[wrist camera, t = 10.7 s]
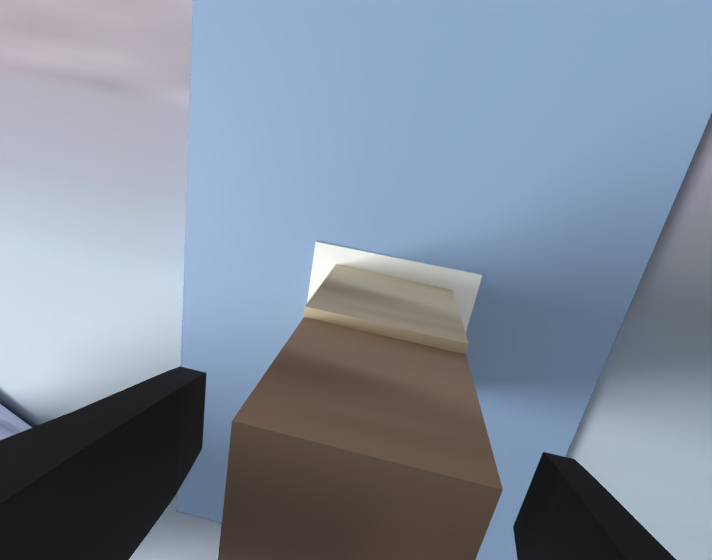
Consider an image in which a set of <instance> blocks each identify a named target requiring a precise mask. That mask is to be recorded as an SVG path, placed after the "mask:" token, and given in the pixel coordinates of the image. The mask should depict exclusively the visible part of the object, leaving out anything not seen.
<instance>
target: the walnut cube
mask: <svg viewBox="0 0 712 560" xmlns="http://www.w3.org/2000/svg"><path fill="white" fill-rule="evenodd" d="M502 491H503V488H502V485H501V481H500V477H499V474H498V470H497V466H496V463H495V459H494V455H493V452H492V448H491V444H490V440H489V437H488V433H487V429H486V426H485V422H484V418H483V415H482V411H481V407H480V404H479V400H478V396H477V393H476V389H475V385H474V382H473V378H472V374H471V371H470V367H469V363H468V360H467V356H466V354H461V353H457V352H453V351H448V350H444V349H440V348H435V347H431V346H427V345H422V344H418V343H414V342H409V341H405V340H401V339H396V338H392V337H388V336H383V335H379V334H375V333H370V332H366V331H362V330H357V329H353V328H349V327H344V326H340V325H336V324H331V323H327V322H323V321H318V320H314V319H310V318H305V317H304V318H303V319H302V320H301V322H300V323H299V325H298V326H297V328H296V329H295V330H294V332H293V333H292V335H291V336H290V338H289V339H288V341H287V342H286V343H285V345H284V346H283V348H282V349H281V351H280V352H279V354H278V355H277V356H276V358H275V359H274V361H273V362H272V364H271V365H270V367H269V368H268V369H267V371H266V372H265V374H264V375H263V377H262V378H261V379H260V381H259V382H258V384H257V385H256V387H255V388H254V390H253V391H252V392H251V394H250V395H249V397H248V398H247V400H246V401H245V403H244V404H243V405H242V407H241V408H240V410H239V411H238V413H237V414H236V416H235V417H234V418H233V420H232V425H231V435H230V446H229V456H228V466H227V476H226V486H225V496H224V506H223V516H222V527H221V537H220V547H219V557H218V560H476V557H477V554H478V552H479V549H480V547H481V544H482V542H483V539H484V537H485V534H486V532H487V529H488V526H489V524H490V521H491V519H492V516H493V514H494V511H495V509H496V506H497V504H498V501H499V498H500V496H501V493H502Z"/></svg>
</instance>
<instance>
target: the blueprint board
mask: <svg viewBox="0 0 712 560" xmlns="http://www.w3.org/2000/svg"><path fill="white" fill-rule="evenodd" d="M711 113H712V0H193V6H192V38H191V69H190V100H189V131H188V162H187V194H186V225H185V256H184V287H183V319H182V350H181V367H184V368H189V369H193V370H197V371H201V372H206V373H207V374H206V392H205V410H204V428H203V445H202V450H201V452H200V454H199V455H198V457H197V459H196V461H195V463H194V464H193V466H192V468H191V470H190V472H189V473H188V475H187V477H186V478H185V480H184V482H183V483H182V485H181V487H180V489H179V490H178V492H177V506H176V511H178V512H182V513H185V514H189V515H193V516H197V517H200V518H204V519H208V520H211V521H215V522H219V523H222V516H223V506H224V496H225V486H226V476H227V466H228V456H229V446H230V435H231V425H232V420H233V418H234V417H235V416H236V414H237V413H238V411H239V410H240V408H241V407H242V405H243V404H244V403H245V401H246V400H247V398H248V397H249V395H250V394H251V392H252V391H253V390H254V388H255V387H256V385H257V384H258V382H259V381H260V379H261V378H262V377H263V375H264V374H265V372H266V371H267V369H268V368H269V367H270V365H271V364H272V362H273V361H274V359H275V358H276V356H277V355H278V354H279V352H280V351H281V349H282V348H283V346H284V345H285V343H286V342H287V341H288V339H289V338H290V336H291V335H292V333H293V332H294V330H295V329H296V328H297V326H298V325H299V323H300V322H301V320H302V319H303V315H304V308H305V305H306V304H307V303H308V301H309V300H310V299H311V297H312V296H313V295H314V293H315V292H316V290H317V289H318V288H319V286H320V285H321V284H322V282H323V281H324V280H325V278H326V277H327V276H328V274H329V273H330V271H331V270H332V269H333V267H334V266H335V265H341V266H346V267H350V268H355V269H359V270H364V271H368V272H373V273H377V274H382V275H387V276H391V277H396V278H400V279H405V280H409V281H414V282H418V283H423V284H428V285H432V286H437V287H441V288H446V289H450V290H453V293H454V297H455V300H456V303H457V306H458V310H459V313H460V316H461V320H462V323H463V326H464V330H465V333H466V336H467V340H468V343H469V345H468V348H467V351H466V356H467V360H468V363H469V367H470V371H471V374H472V378H473V382H474V385H475V389H476V393H477V396H478V400H479V404H480V407H481V411H482V415H483V418H484V422H485V426H486V429H487V433H488V437H489V440H490V444H491V448H492V452H493V455H494V459H495V463H496V466H497V470H498V474H499V477H500V481H501V485H502V488H503V491H502V493H501V496H500V498H499V501H498V504H497V506H496V509H495V511H494V514H493V516H492V519H491V521H490V524H489V526H488V529H487V532H486V534H485V537H484V539H483V542H482V544H481V547H480V549H479V552H478V554H477V557H476V560H518V559H517V552H516V545H515V537H514V530H513V526H514V523H515V521H516V518H517V516H518V513H519V511H520V508H521V506H522V503H523V501H524V498H525V496H526V493H527V491H528V488H529V486H530V483H531V481H532V478H533V476H534V473H535V471H536V468H537V466H538V463H539V461H540V458H541V456H542V453H543V452H546V453H550V454H555V455H559V456H563V457H565V456H566V454H567V451H568V449H569V447H570V444H571V442H572V440H573V437H574V435H575V433H576V430H577V428H578V426H579V423H580V421H581V419H582V416H583V414H584V412H585V409H586V407H587V404H588V402H589V400H590V397H591V395H592V393H593V390H594V388H595V386H596V383H597V381H598V379H599V376H600V374H601V372H602V369H603V367H604V365H605V362H606V360H607V358H608V355H609V353H610V350H611V348H612V346H613V343H614V341H615V339H616V336H617V334H618V332H619V329H620V327H621V325H622V322H623V320H624V318H625V315H626V313H627V311H628V308H629V306H630V303H631V301H632V299H633V296H634V294H635V292H636V289H637V287H638V285H639V282H640V280H641V278H642V275H643V273H644V271H645V268H646V266H647V264H648V261H649V259H650V256H651V254H652V252H653V249H654V247H655V245H656V242H657V240H658V238H659V235H660V233H661V231H662V228H663V226H664V224H665V221H666V219H667V217H668V214H669V212H670V209H671V207H672V205H673V202H674V200H675V198H676V195H677V193H678V191H679V188H680V186H681V184H682V181H683V179H684V177H685V174H686V172H687V170H688V167H689V165H690V162H691V160H692V158H693V155H694V153H695V151H696V148H697V146H698V144H699V141H700V139H701V137H702V134H703V132H704V130H705V127H706V125H707V123H708V120H709V118H710V116H711Z"/></svg>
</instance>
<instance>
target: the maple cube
mask: <svg viewBox="0 0 712 560" xmlns="http://www.w3.org/2000/svg"><path fill="white" fill-rule="evenodd" d="M304 317H305V318H310V319H314V320H318V321H323V322H327V323H331V324H336V325H340V326H344V327H349V328H353V329H357V330H362V331H366V332H370V333H375V334H379V335H383V336H388V337H392V338H396V339H401V340H405V341H409V342H414V343H418V344H422V345H427V346H431V347H435V348H440V349H444V350H448V351H453V352H457V353H461V354H466V351H467V348H468V345H469V343H468V340H467V336H466V333H465V330H464V326H463V323H462V320H461V316H460V313H459V310H458V306H457V303H456V300H455V297H454V293H453V290H450V289H446V288H441V287H437V286H432V285H428V284H423V283H418V282H414V281H409V280H405V279H400V278H396V277H391V276H387V275H382V274H377V273H373V272H368V271H364V270H359V269H355V268H350V267H346V266H341V265H335V266H334V267H333V269H332V270H331V271H330V273H329V274H328V276H327V277H326V278H325V280H324V281H323V282H322V284H321V285H320V286H319V288H318V289H317V290H316V292H315V293H314V295H313V296H312V297H311V299H310V300H309V301H308V303H307V304H306V305H305V308H304V315H303V318H304Z"/></svg>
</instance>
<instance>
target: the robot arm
mask: <svg viewBox="0 0 712 560" xmlns="http://www.w3.org/2000/svg"><path fill="white" fill-rule="evenodd" d="M206 374H207V373H206V372H201V371H197V370H193V369H189V368H184V367H178V368H175V369H172V370H170V371H167V372H165V373H162V374H160V375H157V376H155V377H153V378H150V379H148V380H146V381H143V382H141V383H139V384H136V385H134V386H132V387H130V388H127V389H125V390H123V391H120V392H118V393H116V394H113V395H111V396H109V397H106V398H104V399H102V400H99V401H97V402H95V403H92V404H90V405H88V406H85V407H83V408H81V409H78V410H76V411H74V412H71V413H69V414H66V415H63V416H61V417H58V418H56V419H53V420H51V421H48V422H46V423H43V424H41V425H38V426H35V427H33V428H32V427H31V426H30V425H28V424H27V423H26V422H24V421H23V420H21V419H20V418H19V417H17V416H16V415H15V414H13V413H12V412H10V411H9V410H8V409H6V408H5V407H4V406H2V405H1V404H0V560H129V558H130V557H131V556H132V554H133V553H134V551H135V550H136V549H137V547H138V546H139V545H140V543H141V542H142V541H143V539H144V538H145V537H146V535H147V534H148V532H149V531H150V530H151V528H152V527H153V526H154V524H155V523H156V521H157V520H158V519H159V517H160V516H161V515H162V513H163V512H164V510H165V509H166V508H167V506H168V505H169V503H170V502H171V501H172V499H173V498H174V496H175V495H176V494H177V492H178V490H179V489H180V487H181V485H182V483H183V482H184V480H185V478H186V477H187V475H188V473H189V472H190V470H191V468H192V466H193V464H194V463H195V461H196V459H197V457H198V455H199V454H200V452H201V450H202V445H203V428H204V410H205V392H206ZM513 530H514V537H515V545H516V552H517V559H518V560H676V559H675V558H674V557H673V556H672V555H671V554H670V553H669V552H668V551H667V550H666V549H665V548H664V547H663V546H662V545H661V544H660V543H659V542H658V541H657V540H656V539H655V538H654V537H653V536H652V535H651V534H650V533H649V532H648V531H647V530H646V529H645V528H644V527H643V526H642V525H641V524H640V523H639V522H638V521H637V520H636V519H635V518H634V517H633V516H632V515H631V514H630V513H629V512H628V511H627V510H626V509H625V508H624V507H623V506H622V505H621V504H620V503H619V502H618V501H617V500H616V499H615V498H614V497H613V496H612V495H611V494H610V493H609V492H608V491H607V490H606V489H605V488H604V487H603V486H602V485H601V484H600V483H599V482H598V481H597V480H596V479H595V478H594V477H593V476H592V475H591V474H590V473H589V472H588V471H587V470H586V469H584V468H583V467H582V466H581V465H580V464H579V463H578V462H577V461H576V460H574V459H572V458H567V457H563V456H559V455H555V454H550V453H546V452H543V453H542V456H541V458H540V461H539V463H538V466H537V468H536V471H535V473H534V476H533V478H532V481H531V483H530V486H529V488H528V491H527V493H526V496H525V498H524V501H523V503H522V506H521V508H520V511H519V513H518V516H517V518H516V521H515V523H514V526H513Z"/></svg>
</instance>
